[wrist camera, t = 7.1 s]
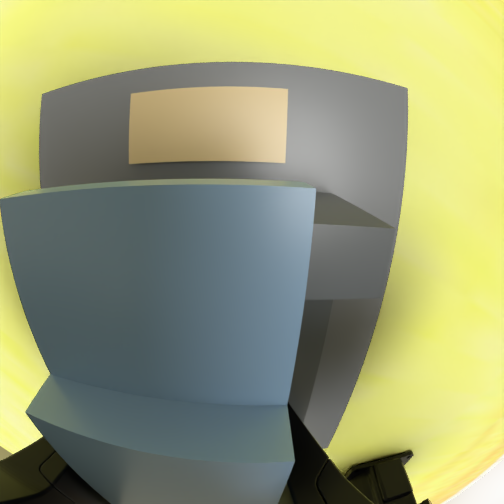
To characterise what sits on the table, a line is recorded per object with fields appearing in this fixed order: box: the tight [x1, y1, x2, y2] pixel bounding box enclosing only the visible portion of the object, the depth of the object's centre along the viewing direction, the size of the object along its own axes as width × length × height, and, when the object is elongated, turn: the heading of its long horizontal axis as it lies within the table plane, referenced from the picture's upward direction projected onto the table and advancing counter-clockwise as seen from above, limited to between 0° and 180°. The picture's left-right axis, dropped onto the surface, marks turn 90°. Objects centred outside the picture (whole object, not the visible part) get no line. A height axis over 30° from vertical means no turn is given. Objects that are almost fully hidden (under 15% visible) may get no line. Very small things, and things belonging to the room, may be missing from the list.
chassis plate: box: [39, 62, 408, 449], centre depth 9 cm, size 20×14×5 cm
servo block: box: [0, 179, 316, 504], centre depth 7 cm, size 13×4×6 cm, turn 178°
